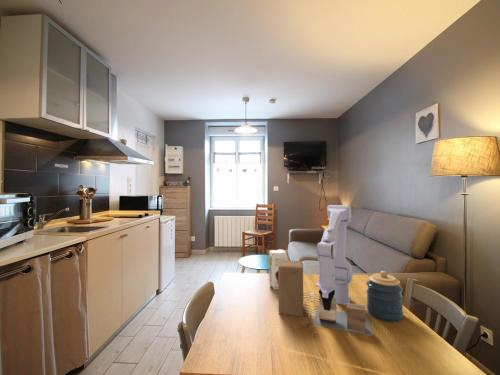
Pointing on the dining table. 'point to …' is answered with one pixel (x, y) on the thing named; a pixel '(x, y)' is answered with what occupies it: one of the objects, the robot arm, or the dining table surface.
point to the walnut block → (356, 317)
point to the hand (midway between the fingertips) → (327, 309)
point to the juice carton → (275, 266)
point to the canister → (384, 297)
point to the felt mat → (341, 323)
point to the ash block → (327, 311)
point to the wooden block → (290, 288)
